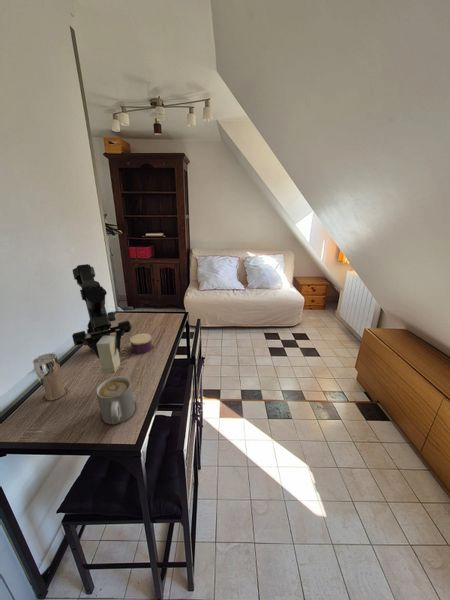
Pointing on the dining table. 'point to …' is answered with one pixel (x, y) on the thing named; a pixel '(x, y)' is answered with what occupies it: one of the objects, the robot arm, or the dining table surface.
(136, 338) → the jar
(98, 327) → the robot arm
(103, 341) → the cosmetic box
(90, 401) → the dining table surface
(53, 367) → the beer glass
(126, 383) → the coffee mug
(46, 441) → the dining table surface
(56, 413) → the dining table surface
